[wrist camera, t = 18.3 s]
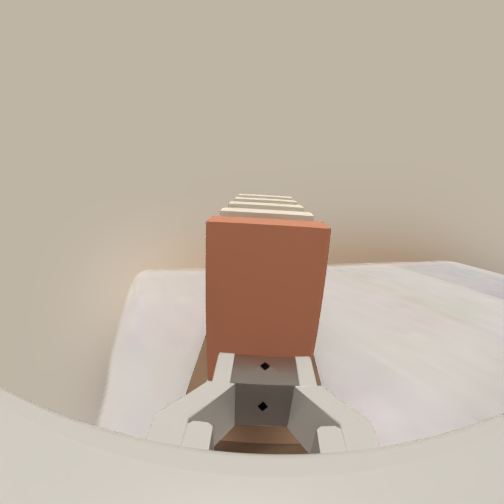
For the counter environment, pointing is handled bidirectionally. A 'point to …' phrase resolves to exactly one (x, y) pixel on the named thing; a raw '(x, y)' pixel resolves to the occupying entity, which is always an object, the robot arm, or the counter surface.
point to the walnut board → (250, 436)
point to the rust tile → (263, 286)
